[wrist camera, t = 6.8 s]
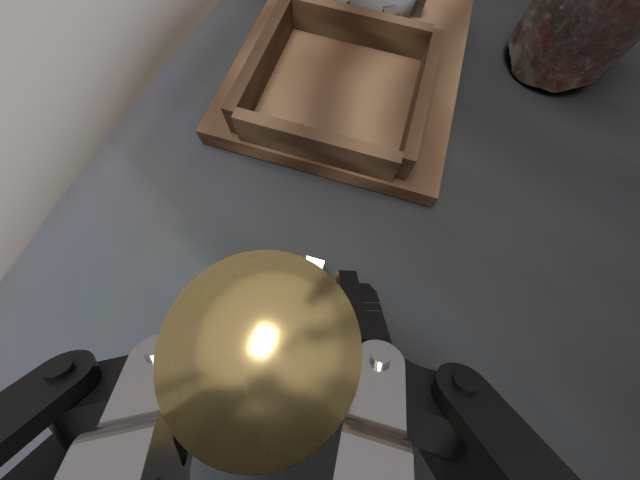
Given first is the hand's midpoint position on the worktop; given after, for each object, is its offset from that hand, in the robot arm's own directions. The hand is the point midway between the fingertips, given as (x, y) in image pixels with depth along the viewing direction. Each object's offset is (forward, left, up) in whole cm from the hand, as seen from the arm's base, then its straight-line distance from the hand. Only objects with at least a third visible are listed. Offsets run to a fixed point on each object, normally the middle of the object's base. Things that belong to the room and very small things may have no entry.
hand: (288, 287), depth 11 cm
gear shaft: (-1, +2, -5) cm, 5 cm away
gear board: (+1, -18, -5) cm, 19 cm away
